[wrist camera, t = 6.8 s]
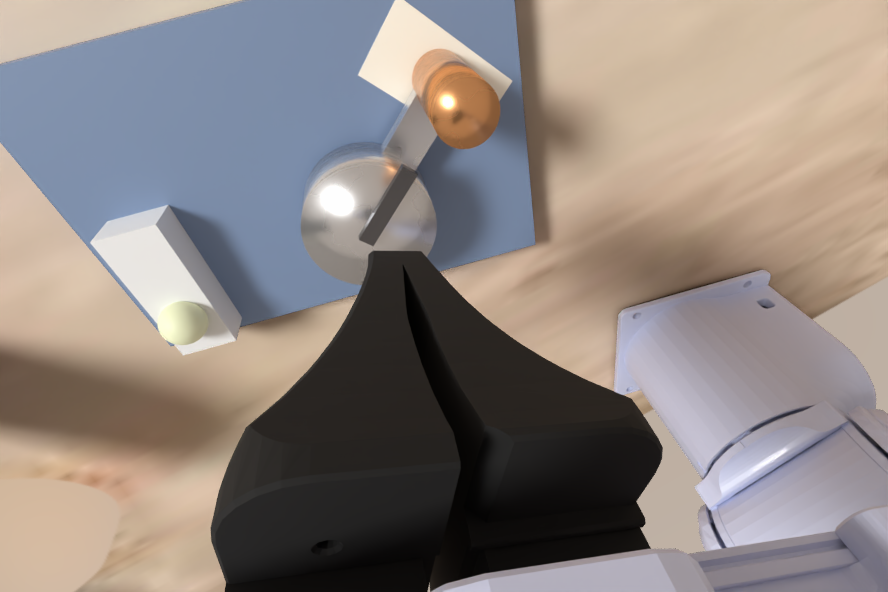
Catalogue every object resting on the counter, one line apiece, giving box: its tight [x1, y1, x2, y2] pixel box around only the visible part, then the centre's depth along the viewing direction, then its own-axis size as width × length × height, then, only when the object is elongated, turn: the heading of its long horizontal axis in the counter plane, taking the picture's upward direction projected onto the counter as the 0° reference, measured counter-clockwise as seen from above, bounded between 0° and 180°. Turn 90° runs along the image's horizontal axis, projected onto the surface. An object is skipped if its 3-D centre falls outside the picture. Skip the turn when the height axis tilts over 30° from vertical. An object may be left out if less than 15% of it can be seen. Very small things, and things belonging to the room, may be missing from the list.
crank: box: [301, 49, 500, 285], centre depth 16 cm, size 9×5×4 cm, turn 146°
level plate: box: [0, 0, 535, 355], centre depth 17 cm, size 18×12×4 cm, turn 102°
